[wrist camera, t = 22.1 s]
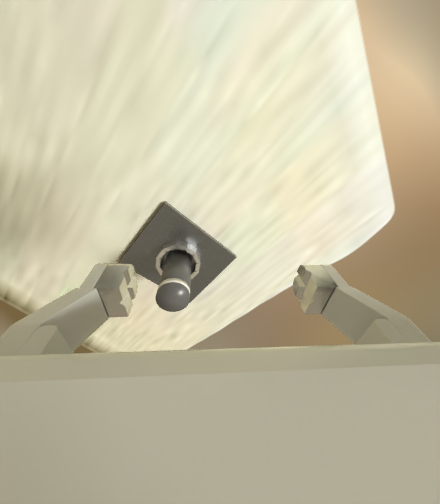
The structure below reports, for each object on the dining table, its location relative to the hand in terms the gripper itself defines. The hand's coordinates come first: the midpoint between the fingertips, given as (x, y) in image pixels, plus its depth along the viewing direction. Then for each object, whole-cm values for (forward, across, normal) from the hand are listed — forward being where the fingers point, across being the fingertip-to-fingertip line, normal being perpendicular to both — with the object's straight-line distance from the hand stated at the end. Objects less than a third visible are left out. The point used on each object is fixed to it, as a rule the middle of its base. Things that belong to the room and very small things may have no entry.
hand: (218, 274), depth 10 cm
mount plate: (+27, +6, +20) cm, 34 cm away
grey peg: (+26, +6, +19) cm, 33 cm away
